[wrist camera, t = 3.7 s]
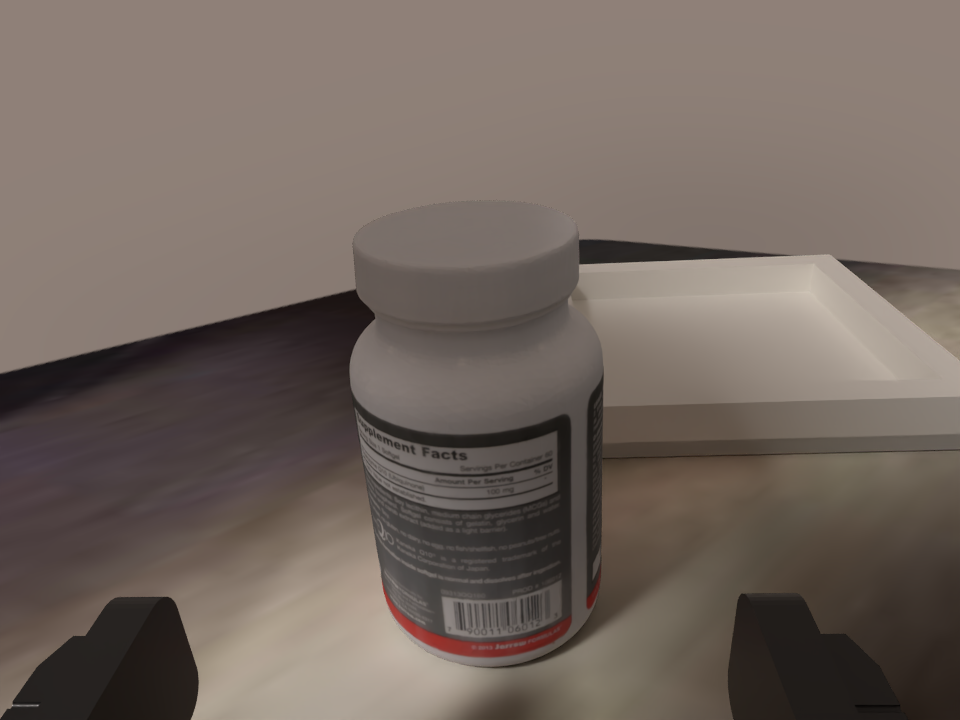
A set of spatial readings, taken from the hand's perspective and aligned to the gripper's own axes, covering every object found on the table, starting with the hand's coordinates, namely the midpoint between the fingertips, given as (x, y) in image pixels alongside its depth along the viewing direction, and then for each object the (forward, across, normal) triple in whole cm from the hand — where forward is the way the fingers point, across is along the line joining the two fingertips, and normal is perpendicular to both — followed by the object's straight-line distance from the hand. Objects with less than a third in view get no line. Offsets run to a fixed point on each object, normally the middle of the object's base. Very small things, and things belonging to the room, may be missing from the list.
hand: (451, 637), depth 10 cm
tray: (+20, -9, +6) cm, 23 cm away
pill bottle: (+7, 0, +6) cm, 9 cm away
